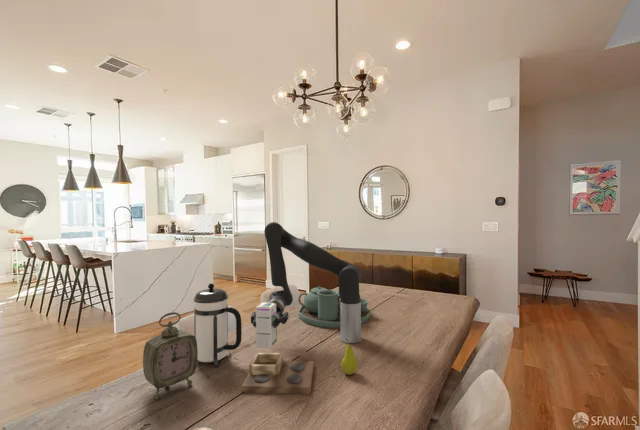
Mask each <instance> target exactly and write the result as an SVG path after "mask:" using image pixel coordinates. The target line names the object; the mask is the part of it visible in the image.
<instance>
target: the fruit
mask: <svg viewBox="0 0 640 430" xmlns="http://www.w3.org/2000/svg"><path fill="white" fill-rule="evenodd" d="M346 340H347V339H346ZM347 342H348V340H347ZM344 352H345V353H344V357H343V358H342V360H341V362H340V364H341V365H340V367H341V369H342V372H344V373H345V374H346V375H348V376H350V375H353V374H354V373H356V371H357V369H358V362H357V359H356V356H355V353H354V350H353V348H352V346H351V345H350V343H347V344H346V349H345V351H344Z"/></svg>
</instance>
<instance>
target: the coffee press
mask: <svg viewBox="0 0 640 430" xmlns="http://www.w3.org/2000/svg"><path fill="white" fill-rule="evenodd" d="M228 299H229V294H227V291H226V290H224V289H222V288H217V287H215V285H214V284H213V283H212V282H211V283H208V284H207V288H206V289H202V290H200V291H199V290H198V292H197V293H196V294H195V296H194V297H193V301H192V302H193V304H194V306H193V328H194V330H193V331H194V332H193V333H194V334H193V335H194V336H195V338H196V341H197V350H198V357H197V363H198V362H200V363H212V364H213V368H218V367H219V363H218V361H220V360H222V359H223V358H225V357H226V356H227V357H231V355H232V353H231V352H230V351H234V350H236V349H238V348H239V347H240V345H241V343H242V332H243V331H242V316H241V313H240V312H239V310H237V309H236V308H234V307H231V306H230V307H229V305H228ZM229 313H231V314H232V315H234V318H235V332H236V333H235V335H236V337H235V338H236V339H235V343H234V344H229V336H228V335H229V332H228V331H229V329H228V327H229V325H228V324H229V323H228V322H229V318H228V317H229V315H228V314H229ZM228 353H229V354H228Z"/></svg>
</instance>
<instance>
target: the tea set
mask: <svg viewBox="0 0 640 430" xmlns="http://www.w3.org/2000/svg"><path fill="white" fill-rule="evenodd" d="M302 296H304V297H303V302H302V301H301V297H302ZM298 303H299V304H300V305H301V306H300V308H299V310H298V312H297V316H298V317H299V319H301V321H302V322H303V323H305V324H307V325H311V326H315V327H318V328H331V329H332V328H333V329H340V296H339V290H334V289H327V288H325V287H321V286H317V287H312V288H311V289H310V291H309V292H308V293H307V292H301V293H300V294H299V296H298ZM368 304H369V300H367V299H364V298H361V325H362V324H365V323H367V322H368V320H369V319H370V317H371V315H372V314H371V309H369V307H368Z"/></svg>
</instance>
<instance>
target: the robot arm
mask: <svg viewBox="0 0 640 430" xmlns="http://www.w3.org/2000/svg"><path fill="white" fill-rule="evenodd" d="M263 231H264V237H265V241H266V245H267V250H268V256H269V266H270V277H271V284H272V286H274V287H281V288H282V289H283V290H277V291H272V292H270V294H269V297H268V300H269V301H268V302H270V303H276V319H275V321H274V328H276V327H279V325H280V324H282V325H284V324H285V325H286V323H287V321H288V320H289V312H287V311H286V312H285V313H284V311H285V309H286V307H288V306H291V305H292V303H293V301H294V298H293V294H292V292H291V289H290V286H289V284H288V283H289V282H288V278H287V277H288V276H287V268H286V263H285V259H284V255H283V250H282V248H283V249H284V250H288V251H289V252H291V253H292V254H293V255H294V256H296V257H298V258H299V259H300V260H302V261H304V262H305V263H306V264H307V263H308V264H309V265H311V266H313V267H314V268H317V269H318V268H319V269H322V270H325V271H328V272H331V273H333V274H334V275H336V276H338V292H339V296H340V299H339V300H340V328H339V333H340V334H339V335H340V337H339V338H340V341H341V342H343V343H346V344H348V343H349V344H357V343H361V342H362V324H361V299H362V298H361V295H360V282H361V280H362V277H363V273H362V271H361V269H360V268H359V267H358V266H357V265H355V264H352V263H349V262H348V261H345V260H342V259H341V258H339V257H336V256H335V255H333V254H332V253H330V252H328V251H327V250H325V249H323V248H322V247H320V246H318V245H316V244H315V243H313V242H310V241H308V240H306V239H302V238H298V237H296V236H295V235H293V234H291V233H290V232H289V231H287V230H286V229H284V227H283V226H282V225H281V224H280V223H278V222H276V221H273V222H272V221H271V222H268V223H267V224H266V225H265V227H264V230H263ZM250 324H252V326H253V327H254V328H256V311H253V312H252V314H250ZM346 339H347V340H348V342H347V340H346Z"/></svg>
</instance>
